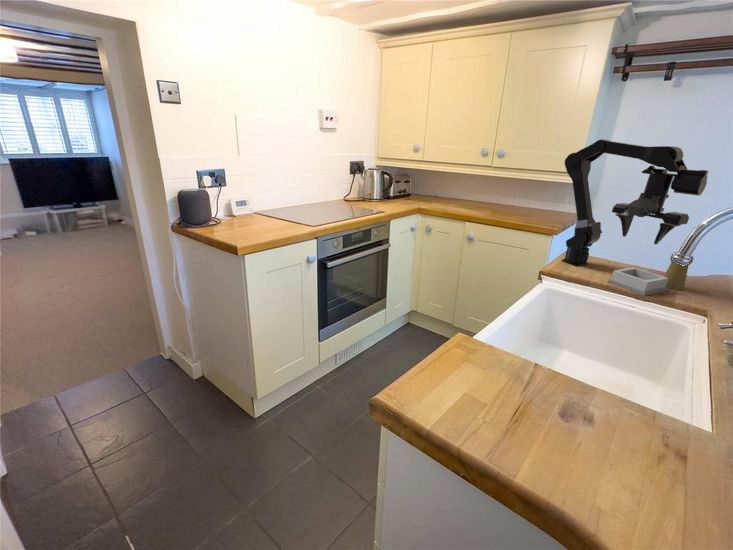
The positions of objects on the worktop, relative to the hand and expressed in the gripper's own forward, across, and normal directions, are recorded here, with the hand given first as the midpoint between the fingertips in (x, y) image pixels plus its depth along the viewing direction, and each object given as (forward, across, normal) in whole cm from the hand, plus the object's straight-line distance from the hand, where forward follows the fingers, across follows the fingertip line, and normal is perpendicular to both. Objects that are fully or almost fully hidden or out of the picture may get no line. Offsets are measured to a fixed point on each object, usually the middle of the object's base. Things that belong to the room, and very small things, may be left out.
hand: (639, 240), depth 113 cm
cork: (+13, +11, +5) cm, 17 cm away
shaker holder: (+13, +6, -5) cm, 15 cm away
